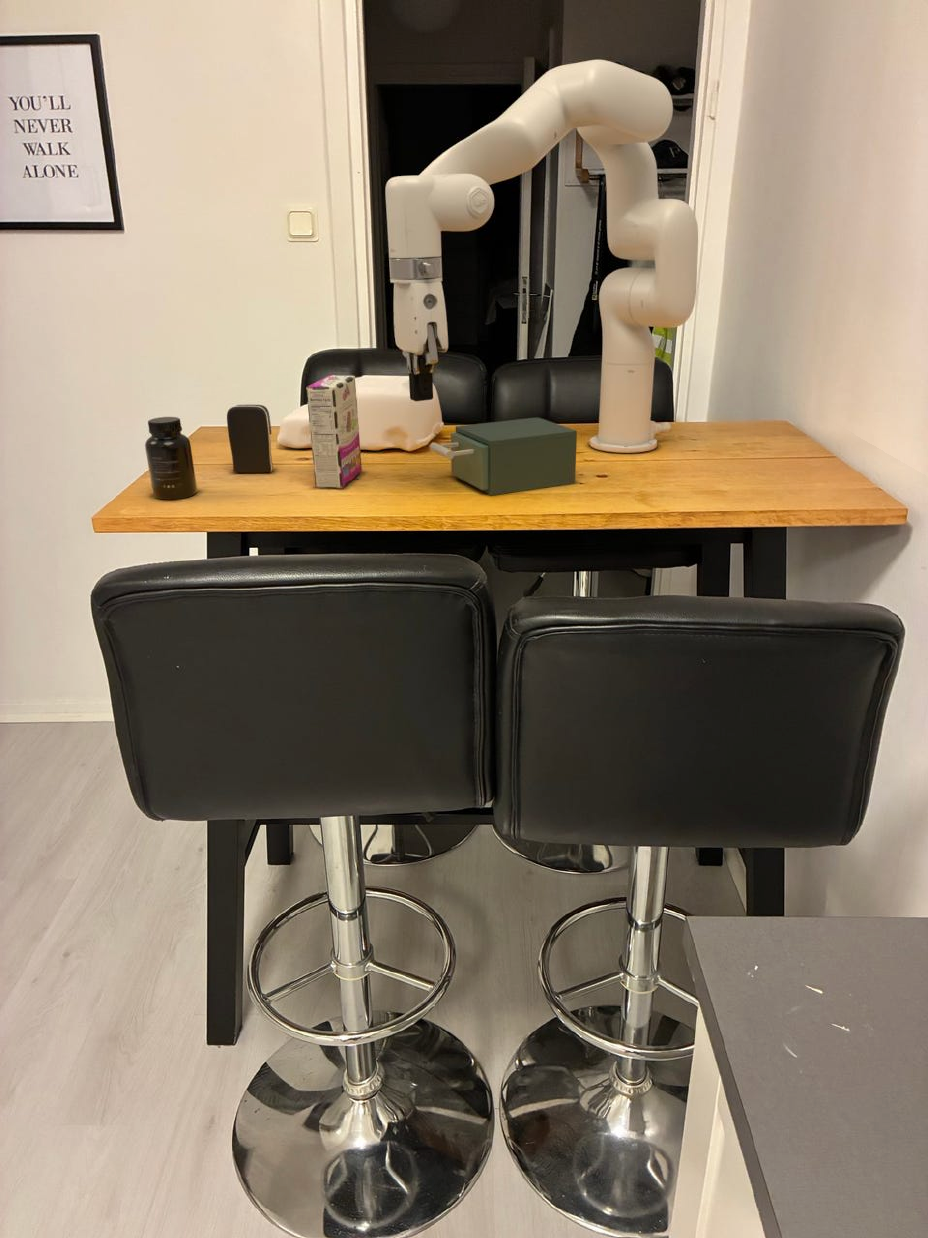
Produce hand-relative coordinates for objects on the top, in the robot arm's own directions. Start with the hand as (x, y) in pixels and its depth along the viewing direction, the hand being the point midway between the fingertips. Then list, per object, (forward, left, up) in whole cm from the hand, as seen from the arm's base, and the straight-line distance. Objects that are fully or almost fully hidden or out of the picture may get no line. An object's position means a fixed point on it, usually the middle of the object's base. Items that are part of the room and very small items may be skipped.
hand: (421, 399), depth 138 cm
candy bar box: (+10, -14, -15) cm, 23 cm away
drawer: (-12, 0, -14) cm, 18 cm away
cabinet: (-16, 0, -15) cm, 22 cm away
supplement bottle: (+36, -18, -15) cm, 43 cm away
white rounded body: (-4, -39, -15) cm, 42 cm away
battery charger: (+21, -27, -15) cm, 37 cm away
